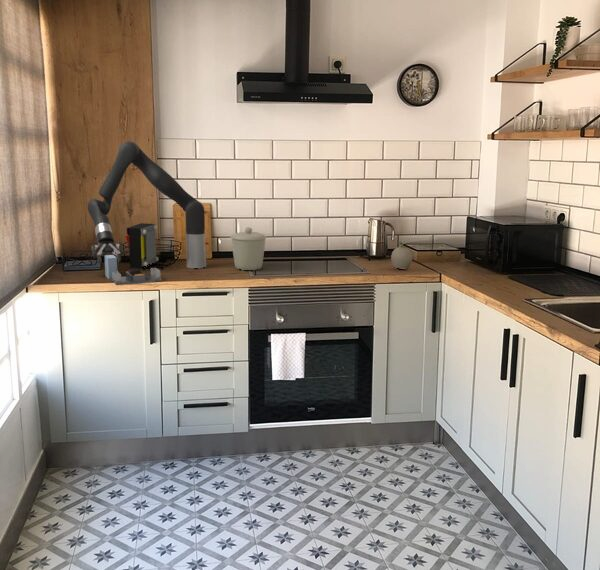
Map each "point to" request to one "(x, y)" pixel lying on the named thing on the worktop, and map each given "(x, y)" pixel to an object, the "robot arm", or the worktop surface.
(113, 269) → the pale blue upright block
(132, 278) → the rack
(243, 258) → the canister
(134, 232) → the electrical component
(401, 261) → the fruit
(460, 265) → the worktop surface
